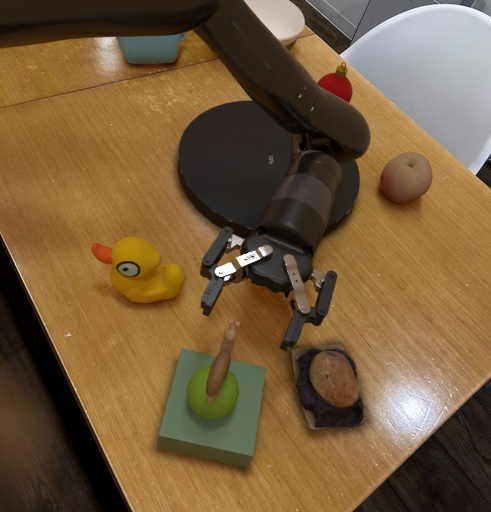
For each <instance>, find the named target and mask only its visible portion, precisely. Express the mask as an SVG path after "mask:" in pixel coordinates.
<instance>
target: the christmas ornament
mask: <svg viewBox="0 0 491 512" xmlns="http://www.w3.org/2000/svg"><path fill="white" fill-rule="evenodd" d="M348 71H349V70H348V67H347V63H346V61H342V62H341V64H340V65H337V66H336V69H335V72H330V73H327V74H325V75H323V76H322V77H321V78H319V80H318V81H317V84H318V85H319V86H320V87H321V88H323V89H325V90H327V91H329V92H331V93H332V94H334V95H336V96H337V97H339V98H341V99H343V100H344V101H346V102H348V103H349V104H350V102H351V100H352V98H353V86H352V83H351V81H350V80H349V78H348V77H347V74H348Z"/></svg>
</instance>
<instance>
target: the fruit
mask: <svg viewBox="0 0 491 512" xmlns="http://www.w3.org/2000/svg"><path fill="white" fill-rule="evenodd" d="M433 176H434V175H433V169H432V165H431V162H430V161H429V159H428V158H426V157H425V155H423V154H421V153H418V152H415V151H407V152H403V153H400V154H398V155H397V156H395V157H393V158H391V159H389V161H387V163H386V164H385V165H384V167H383V168H382V170H381V174H380V177H379V178H380V181H379V182H380V187H381V190H382V192H383V194H384V196H385V197H386V198H388V200H390V201H392V202H394V203H396V204H404V203H407V202H411V201H414V200H417V199H419V198H420V197H422V196H424V195H425V194H427V192H428V191H429V189H430V188H431V185H432V183H433Z"/></svg>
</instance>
